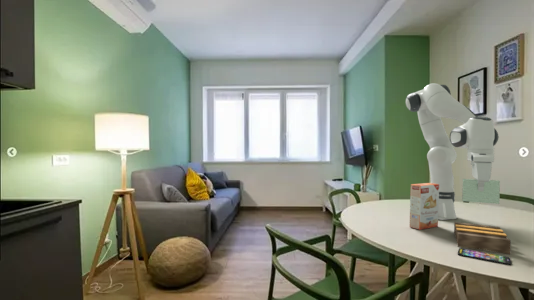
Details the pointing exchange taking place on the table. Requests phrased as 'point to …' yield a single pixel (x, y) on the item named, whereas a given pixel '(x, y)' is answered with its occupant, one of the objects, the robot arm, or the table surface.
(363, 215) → the table surface
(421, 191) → the cracker box
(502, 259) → the smartphone
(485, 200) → the panel
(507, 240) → the rack
